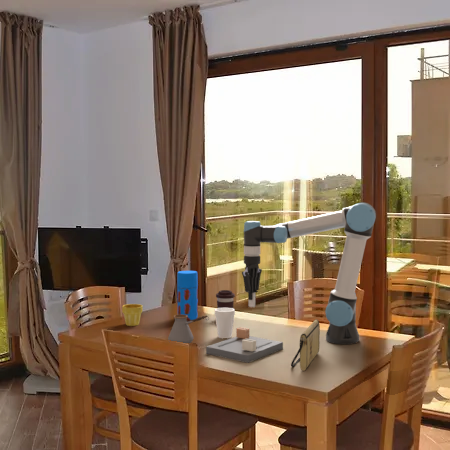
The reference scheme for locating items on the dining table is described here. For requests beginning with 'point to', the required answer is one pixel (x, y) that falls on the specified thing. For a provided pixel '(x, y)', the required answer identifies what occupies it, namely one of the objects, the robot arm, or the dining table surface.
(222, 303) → the coffee cup
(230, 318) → the foam cup
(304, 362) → the clutch purse
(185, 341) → the coffee pot
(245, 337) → the fader
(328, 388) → the dining table surface
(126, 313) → the plant pot
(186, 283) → the thermos
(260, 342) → the slider panel
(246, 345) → the fader
